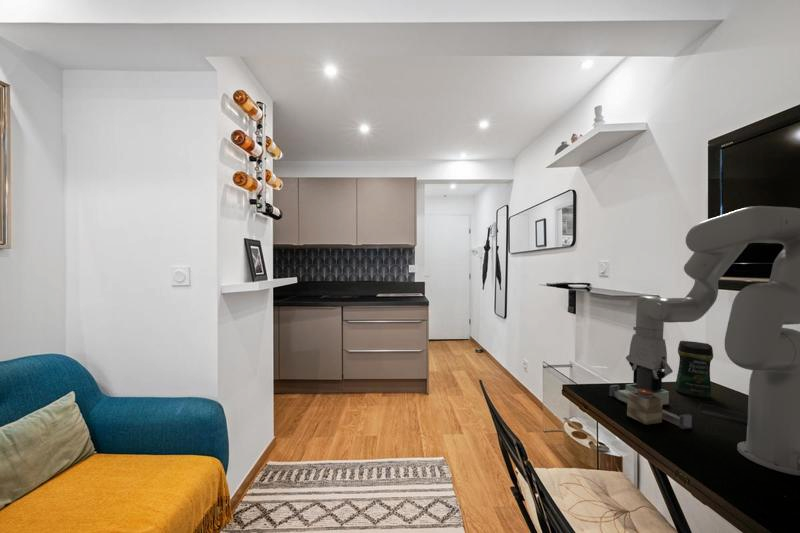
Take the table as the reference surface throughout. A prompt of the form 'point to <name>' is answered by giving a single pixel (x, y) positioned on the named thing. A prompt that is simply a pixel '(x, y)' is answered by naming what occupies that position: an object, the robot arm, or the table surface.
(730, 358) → the robot arm
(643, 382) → the bottle
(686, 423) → the rail
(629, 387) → the carriage
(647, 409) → the wooden box
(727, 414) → the phone
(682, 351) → the coffee jar
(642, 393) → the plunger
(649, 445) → the table surface
